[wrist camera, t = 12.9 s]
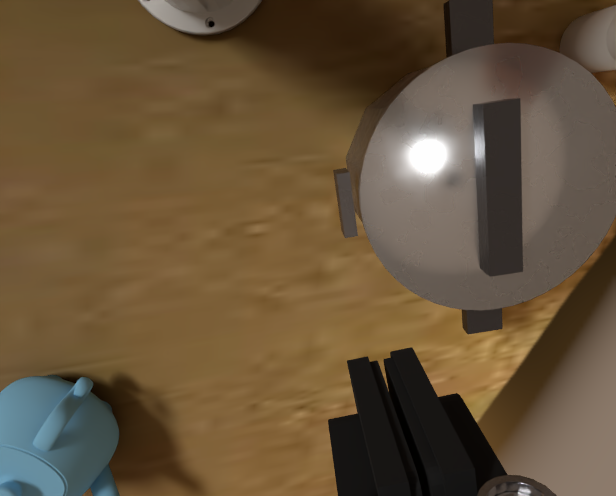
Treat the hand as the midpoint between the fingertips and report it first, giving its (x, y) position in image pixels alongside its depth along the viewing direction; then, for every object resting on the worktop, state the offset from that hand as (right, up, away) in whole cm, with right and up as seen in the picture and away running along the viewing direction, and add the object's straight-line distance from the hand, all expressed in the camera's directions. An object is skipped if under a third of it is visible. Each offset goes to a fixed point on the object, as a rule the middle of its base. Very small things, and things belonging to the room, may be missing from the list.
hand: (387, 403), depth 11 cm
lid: (+11, +8, +22) cm, 26 cm away
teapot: (-28, -15, +39) cm, 51 cm away
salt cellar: (+23, +22, +30) cm, 44 cm away
